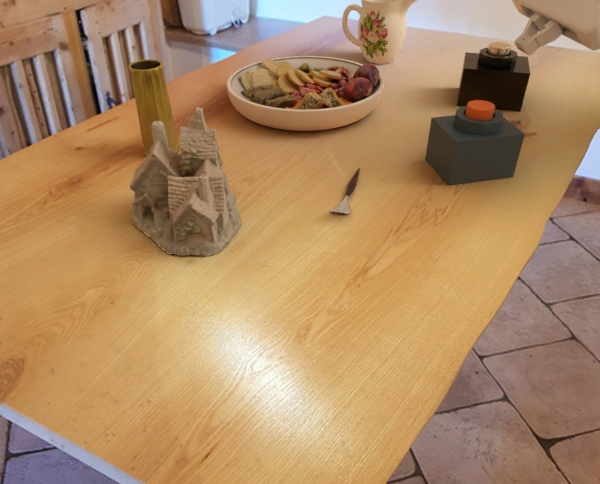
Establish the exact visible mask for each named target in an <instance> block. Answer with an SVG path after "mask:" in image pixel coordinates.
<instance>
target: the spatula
mask: <svg viewBox="0 0 600 484" xmlns="http://www.w3.org/2000/svg"><path fill="white" fill-rule="evenodd" d="M360 170H361V168H360V167H359V168H358V169H357V170H356V171H355V173H354V175H353V176H352V177H351V179H350V181H348V184H347V188H346V192H345V196H344V199H343V200H342V201H341V202H339V203H338V204H337V205H335V206H334V207H333V208H332V209H328V212H329V213H332V212H334V213H339V214H344V215H348V214H350V213H351V207H350V206H349V203H348V199H349V198H350V196H351V195H352V194H353V192H354V190H355V189H356V186H357V183H358V178H359V175H360Z"/></svg>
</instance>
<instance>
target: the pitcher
mask: <svg viewBox="0 0 600 484" xmlns="http://www.w3.org/2000/svg"><path fill="white" fill-rule="evenodd" d="M415 2H418V0H361V5H359V4H357V3H351V4H349V5H347V7H346V8H345V9H344V10H343V13H342V18H341V25H342V31H343V34H344V36H345V37H346V39H347V41H349V42H350V43H351V44H353V45H355V46H357V47H359V49H360V52H361V54H362V56H363V58H364V59H365V61H366V62H368V63H369V64H373V65H375V64H376V65H385V64H391V63H393V62H394V60H395V59H396V58H397V57H398V55H399V53H400V51H401V49H402V47H403V44H404V42H405V38H406V32H407V23H408V19H407V13H408V11H409V9H410V7H411V6H412V5H413V4H414V3H415ZM352 11H355V12H356V13H358V15H359V18H358V23H357V37H355V36H354V35H353V33H352V32H351V31H350V29H349V25H348V20H349V15H350V13H351V12H352Z"/></svg>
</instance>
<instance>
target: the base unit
mask: <svg viewBox="0 0 600 484" xmlns="http://www.w3.org/2000/svg"><path fill="white" fill-rule="evenodd" d="M488 48H489V46H487V47H484V48H482V49H479V52H468V51H467V52H465V53H464V58H463V63H462V69H461V73H460V74H461V76H460V81H459V86H458V94H457V101H456V107H463V106H467V104H468V102H470V101H473V100H484V101H488V102H491V103H493V104H494V105H495V109H497V110H499V111H509V112H521V111H522V107H523V103H524V99H525V95H526V91H527V88H528V84H529V80H530V76H531V70H530V69H531V68H530V62H529V57H528V56H524V55H518V52H517V51H515V50H514V49H512V48H511V49H510V54H509V56H503V57H501V56H493V55H489V54H487V53H488Z"/></svg>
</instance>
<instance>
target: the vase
mask: <svg viewBox="0 0 600 484" xmlns="http://www.w3.org/2000/svg"><path fill="white" fill-rule="evenodd" d="M128 72H129V75H130V82H131V85H132V91H133V95H134V101H135V107H136V112H137V117H138V123H139V124H138V125H139V130H140V135H141V141H142V150H143V154H144V153H145V154H147V155H148V154H149V151H150V148H151V147H152V145H153V144H154V143H153V138H152V123H153V122H154V121H161V122H162V123H163V124H164V128H165V131H166V136H167V141H168V148H171V149H172V150H173V151H174V152H175V153H176V154H178V152H180V151H179V150H180V143H179V141H178V135H177V130H176V125H175V120H174V117H173V111H172V106H171V101H170V96H169V92H168V88H167V83H166V77H165V71H164V63H163V62H162V61H161V60H160V59H153V58H148V59H147V58H146V59H145V58H144V59H138V60H135V61H132V62H130V63H129V65H128ZM145 154H144V155H145ZM147 155H146V156H147Z"/></svg>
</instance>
